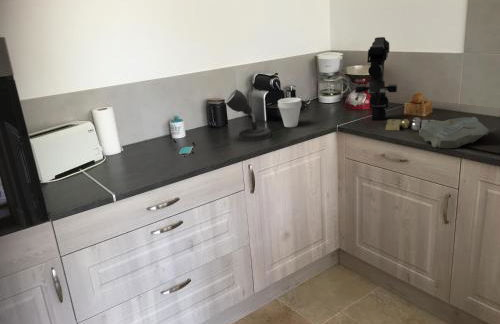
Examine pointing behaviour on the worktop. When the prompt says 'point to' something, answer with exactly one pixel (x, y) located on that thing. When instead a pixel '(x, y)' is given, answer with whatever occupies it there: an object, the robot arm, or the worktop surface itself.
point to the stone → (453, 132)
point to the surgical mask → (185, 150)
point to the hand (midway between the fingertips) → (376, 106)
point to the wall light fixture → (240, 104)
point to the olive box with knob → (396, 124)
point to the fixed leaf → (418, 123)
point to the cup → (290, 111)
